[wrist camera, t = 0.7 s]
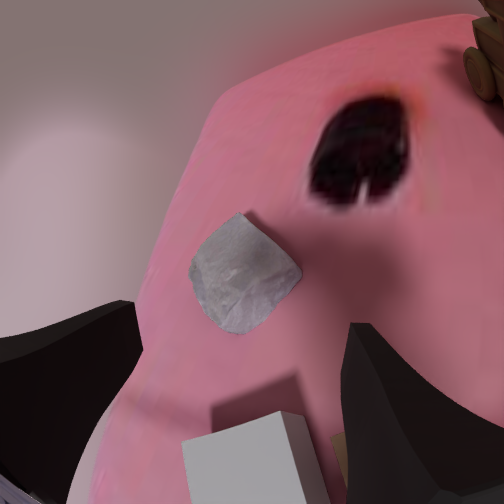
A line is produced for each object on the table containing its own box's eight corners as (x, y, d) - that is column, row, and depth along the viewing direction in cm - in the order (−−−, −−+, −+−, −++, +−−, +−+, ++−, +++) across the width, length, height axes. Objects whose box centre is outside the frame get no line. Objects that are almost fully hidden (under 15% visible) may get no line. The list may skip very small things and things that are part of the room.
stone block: (251, 351, 29) (315, 269, 28) (214, 341, 26) (283, 248, 25) (208, 287, 39) (254, 221, 37) (177, 273, 36) (225, 202, 34)
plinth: (335, 518, 15) (315, 531, 12) (232, 535, 17) (200, 542, 14) (303, 415, 21) (280, 410, 18) (212, 445, 23) (181, 441, 21)
